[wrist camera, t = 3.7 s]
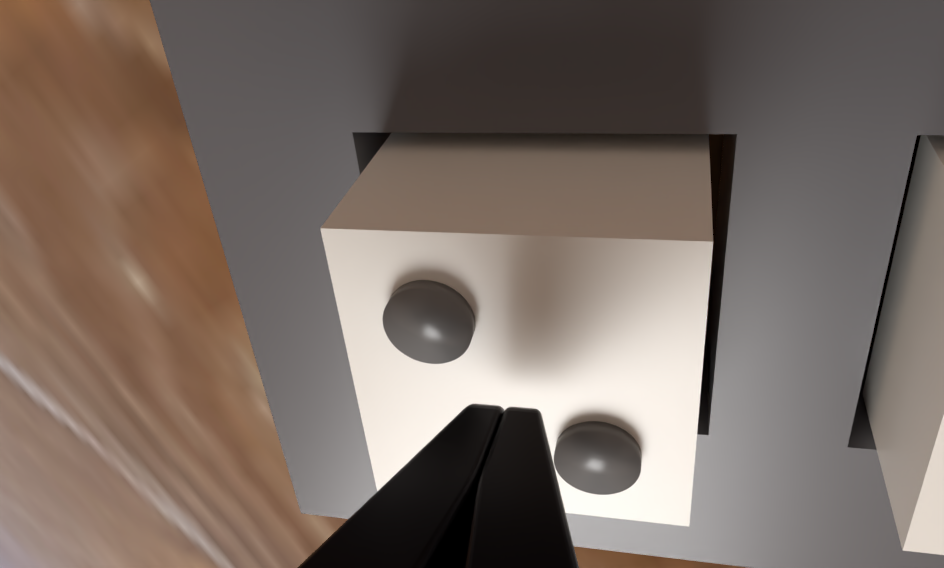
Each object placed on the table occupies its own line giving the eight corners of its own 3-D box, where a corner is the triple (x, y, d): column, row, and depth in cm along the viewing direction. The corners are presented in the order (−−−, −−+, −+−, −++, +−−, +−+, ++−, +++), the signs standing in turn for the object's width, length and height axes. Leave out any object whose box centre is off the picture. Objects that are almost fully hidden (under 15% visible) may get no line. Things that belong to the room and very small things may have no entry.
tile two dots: (708, 128, 11) (714, 251, 8) (689, 382, 13) (689, 539, 11) (395, 126, 12) (314, 236, 9) (430, 362, 14) (372, 501, 12)
